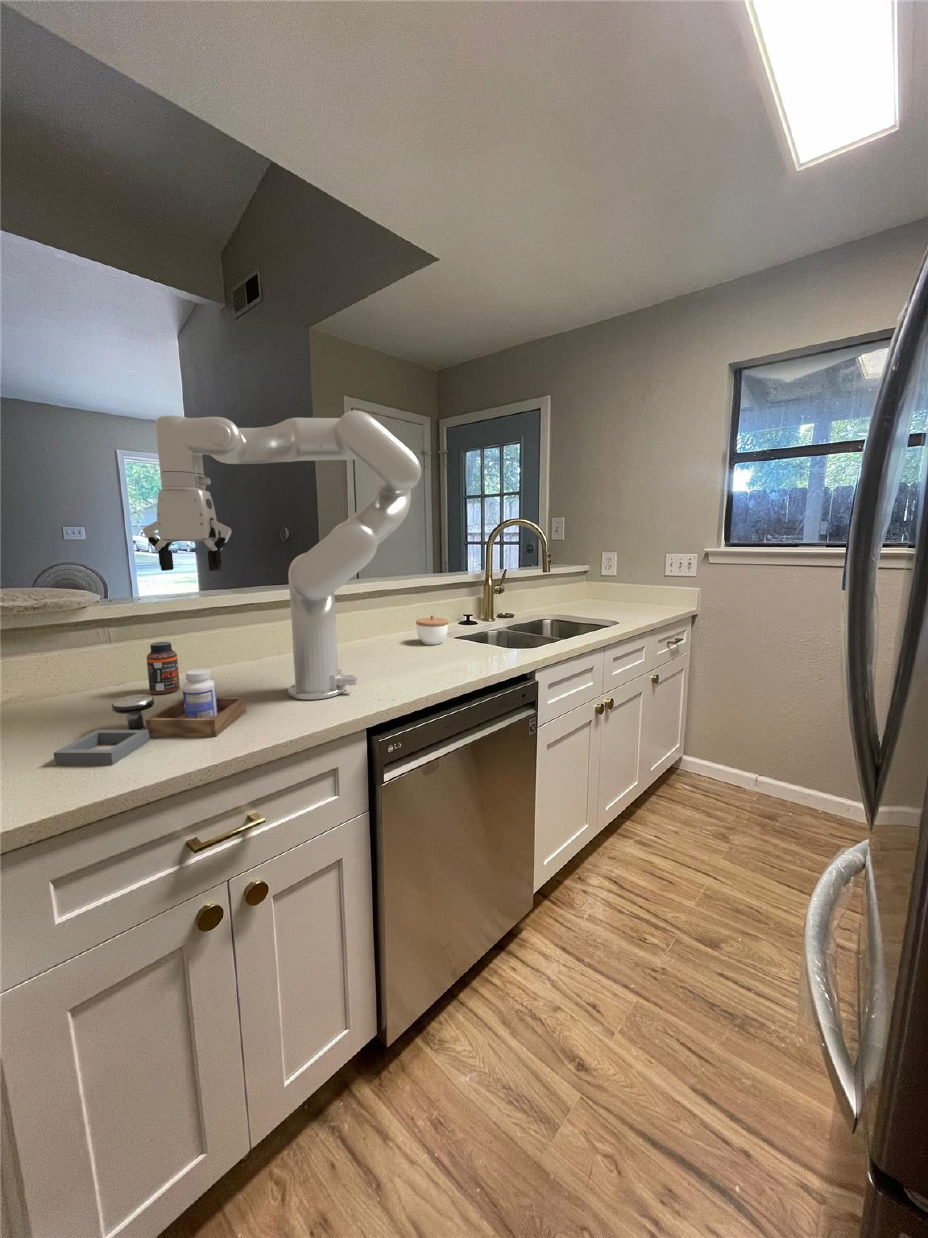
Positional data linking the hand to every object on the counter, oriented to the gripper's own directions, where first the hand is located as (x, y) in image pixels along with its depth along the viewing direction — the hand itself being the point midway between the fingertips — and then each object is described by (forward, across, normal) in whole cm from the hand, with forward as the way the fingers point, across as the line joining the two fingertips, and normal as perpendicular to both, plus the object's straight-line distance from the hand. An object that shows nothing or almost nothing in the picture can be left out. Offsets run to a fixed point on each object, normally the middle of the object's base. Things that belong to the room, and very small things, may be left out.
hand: (191, 570), depth 99 cm
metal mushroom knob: (+28, +5, +14) cm, 32 cm away
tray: (+28, -6, +12) cm, 31 cm away
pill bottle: (+28, -6, +11) cm, 31 cm away
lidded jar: (+29, -45, -60) cm, 80 cm away
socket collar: (+28, +4, +24) cm, 37 cm away
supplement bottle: (+28, +13, -8) cm, 32 cm away
